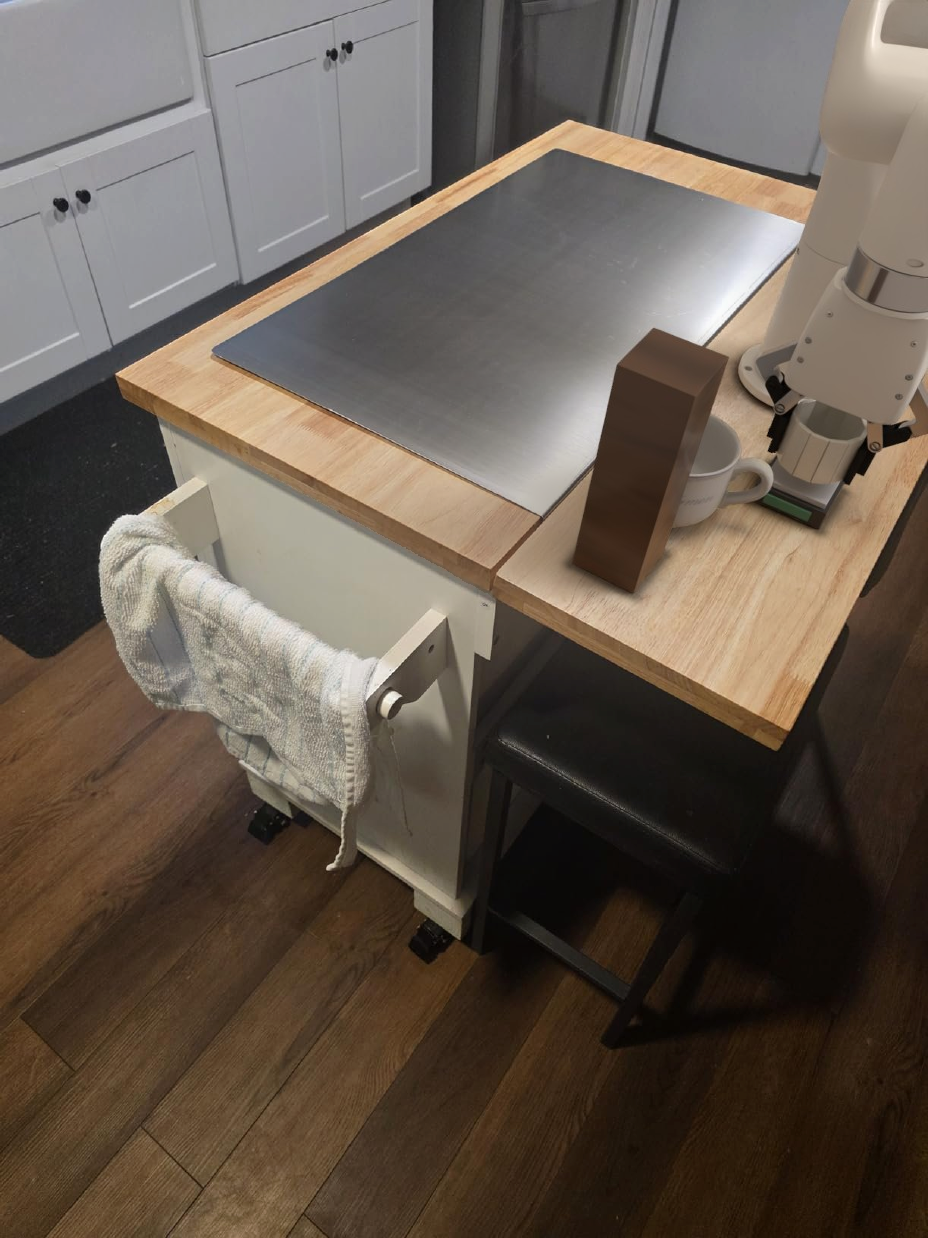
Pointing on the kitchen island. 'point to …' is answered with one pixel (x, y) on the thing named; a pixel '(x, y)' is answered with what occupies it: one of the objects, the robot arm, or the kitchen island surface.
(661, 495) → the block
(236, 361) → the kitchen island surface
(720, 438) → the teacup
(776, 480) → the scale
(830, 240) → the robot arm
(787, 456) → the white faceted cup
